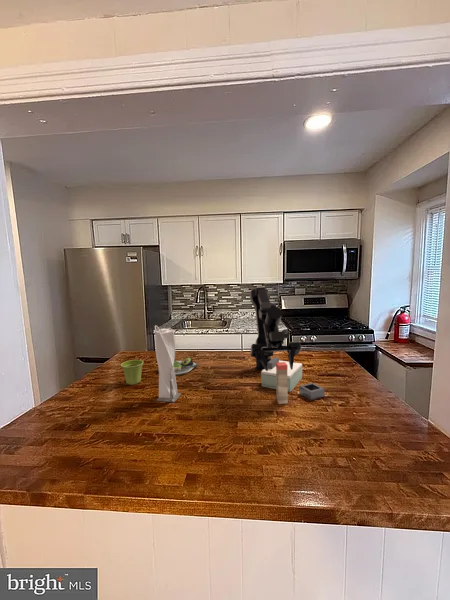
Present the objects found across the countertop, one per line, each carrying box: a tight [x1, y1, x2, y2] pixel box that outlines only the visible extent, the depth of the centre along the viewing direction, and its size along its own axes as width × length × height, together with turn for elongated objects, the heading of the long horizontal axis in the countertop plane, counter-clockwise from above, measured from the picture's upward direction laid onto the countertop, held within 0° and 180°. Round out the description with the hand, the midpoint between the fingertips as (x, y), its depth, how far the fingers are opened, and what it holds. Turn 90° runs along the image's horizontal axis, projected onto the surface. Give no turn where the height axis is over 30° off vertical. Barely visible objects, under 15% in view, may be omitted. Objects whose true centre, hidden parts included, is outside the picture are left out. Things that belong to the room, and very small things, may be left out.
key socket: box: [298, 382, 326, 401], centre depth 107 cm, size 6×6×3 cm
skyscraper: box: [154, 324, 182, 403], centre depth 109 cm, size 8×8×28 cm
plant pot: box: [120, 359, 144, 386], centre depth 125 cm, size 9×9×9 cm
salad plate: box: [157, 357, 200, 376], centre depth 139 cm, size 19×18×5 cm
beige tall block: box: [275, 362, 289, 405], centre depth 102 cm, size 3×3×14 cm
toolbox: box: [260, 366, 303, 393], centre depth 120 cm, size 12×16×5 cm
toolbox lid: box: [260, 357, 303, 379], centre depth 119 cm, size 12×16×4 cm
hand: (279, 369), depth 104 cm, fingers open, 9 cm apart
